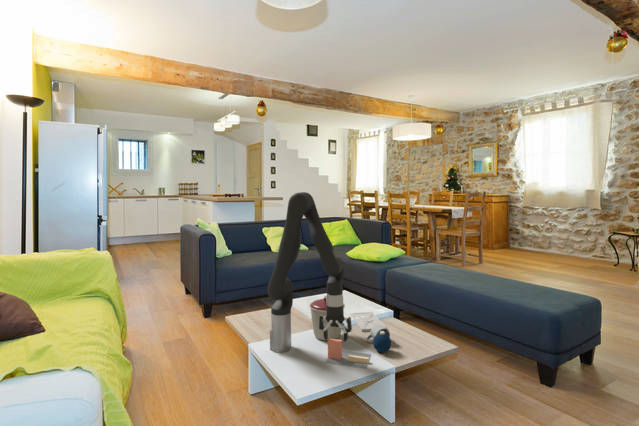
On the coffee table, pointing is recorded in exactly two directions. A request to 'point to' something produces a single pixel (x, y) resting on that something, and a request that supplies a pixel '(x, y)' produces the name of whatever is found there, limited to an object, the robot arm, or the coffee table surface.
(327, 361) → the mat
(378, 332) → the ceramic mug
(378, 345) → the christmas ornament
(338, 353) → the box
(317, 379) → the coffee table surface
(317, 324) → the canister
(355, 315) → the envelope
